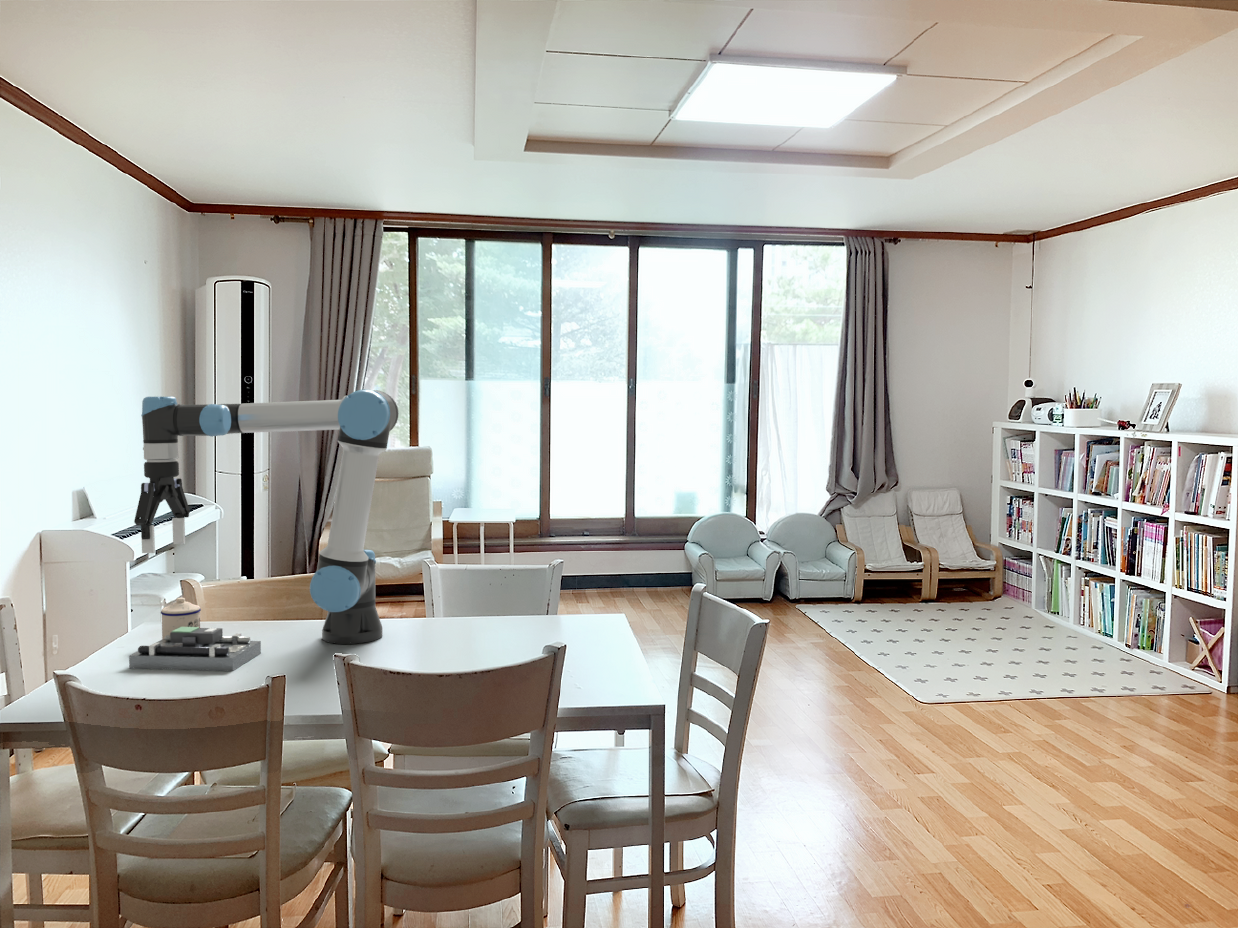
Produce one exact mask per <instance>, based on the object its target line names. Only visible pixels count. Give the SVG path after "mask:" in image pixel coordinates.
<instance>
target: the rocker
mask: <svg viewBox="0 0 1238 928" xmlns="http://www.w3.org/2000/svg"><path fill="white" fill-rule="evenodd" d="M223 635H224V634H223V628H220V627H217V628H216V627H201V626H200V627H180V628H178V629H175V630H173V631H172V632H170V643H183V639H182V637H184V636H191V637H197V643H201V644H213V643H215V642H217V641H219V640H220V639H222V638H223Z"/></svg>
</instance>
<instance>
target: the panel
mask: <svg viewBox="0 0 1238 928" xmlns="http://www.w3.org/2000/svg"><path fill="white" fill-rule="evenodd" d="M182 639H183V643H170V635H166V636H165V638H164V639H162V638H161V639H160V640H159V641H156V642H153V643H152V644H150V645H140V646H139V647H137V651H135V652H133V653H131V654H129V655H128V662H129V664H128V665H129V666H128V668H129V669H132V670H133V669H134V670H135V669H141V670H179V671H182V670H183V671H184V670H185V671H213V672H214V671H216V672H217V671H218V672H219V671H223V672H224V671H225V672H234V671H236V670H237V669H239V668H240V667H242V666H244V665H245V664H247V663H248V662H249V661H250V660H253V659H254V658H256V657H257V656H259V655H260V654H261V653H262V652H261V651H262V649H261V645H262V644H261V640H251V637H250V636H242V633H235V634H233V635H231V636H223V638H222V639H220V640H219V641H217V642H215V643H213V644H201V643H197V637H191V636H184V637H182Z"/></svg>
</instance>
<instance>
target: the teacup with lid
mask: <svg viewBox="0 0 1238 928" xmlns="http://www.w3.org/2000/svg"><path fill="white" fill-rule="evenodd" d="M201 610H202V609H201V606H199V605H198V604H193V603H191V602H190V601H186V598H185V597H177V598H176V600H175V602H173V603H171V604H169V605H168V606H165V607H162V609H161V610H160V614H161V635H162V637H161V640H162V639H164V638H165V636H166V635H170V632H172V631H173V630H175V629H178V628H180V627H200V628H201V613H200V612H201Z"/></svg>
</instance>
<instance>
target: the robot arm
mask: <svg viewBox="0 0 1238 928" xmlns="http://www.w3.org/2000/svg"><path fill="white" fill-rule="evenodd" d="M141 402H142V405H141V420H142V421H141V423H142V437H143V440H142V443H143V447H142V450H143V459H144V460H145V461H144V463H143V472H144V473H143V475H144V477H145V478H148V479H149V482H142V483H141V484H140V495H139V500H138V503H137V508H136V512H135V517H134V520H133V523H134V524H135V526H140V533H141V534H140V535H141V553H142V554H155V553H156V543H155V542H156V541H155V538H156V537H155V524H152V523H154V519H155V516H156V514H157V512H158V509H159V506H160V504H161V503H162V502H163V501H164V500H165V502H166V504H167V506H168V507H169V509H170V510H171V513H172V514H173V516H174V517H172V519H171V521H172V544H173V545H186V531H185V530H186V525H185V523H186V522H185V518H189V516H190V507H189V505H188V501H187V498H186V494H185V491H184V489H183V488H184V487H183V480H182V478H181V477H180V478H178V476H180V468H179V467H180V466H179V461H177V460H178V459H179V443H178V442H179V437H183V436H184V437H185V436H187V437H188V436H191V437H192V436H193V437H195V436H196V437H198V436H199V437H219V436H226V435H230V434H231V435H232V434H245V433H246V434H248V433H249V434H250V433H251V434H253V433H273V432H274V433H279V432H304V431H305V432H308V431H332V430H333V431H335V430H337V431H339V432H338V438H337V442H338V444H339V445H340V446H341V448H342V454H341V460H340V467H339V472H338V478H337V486H336V490H335V498H334V503H333V508H332V514H331V515H332V516H331V522H330V529H329V534H328V540H327V544H326V546H325V547H324V548H323V549H321V550H320V551H319V554H318V562H317V565H316V567H317V568H316V571H315V572H314V573H313V576H312V578H311V580H310V583H309V593H310V597H311V599H312V600H313V602H314V603H315V604H316V606H317V607H319V608H320V609H322V610H324V611H327V615H326V617H325V620H324V623H323V627H322V630H321V631H322V632H321V639H322V641H324V642H326V643H331V644H335V645H336V644H337V645H339V644H340V645H353V644H354V645H356V644H363V643H369V642H372V641H373V642H374V641H376V640H379V639H380V638H381V639H382V637H383V625H382V621H381V619H380V616H379V614H378V610H377V606H376V563H377V559H376V554H375V552H374V550H372V549H365V544H366V543H365V542H366V537H367V530H368V525H369V518H370V514H371V507H372V501H373V500H372V499H373V496H374V495H373V494H374V488H375V482H376V478H377V477H376V476H377V470H378V465H379V458H380V455H381V454H382V453H384V452H385V451H386V450H387V448H388V443H389V436H390V432H391V431H392V430H393V429H394V428H395V426H396V424H397V423H398V420H399V408H398V404H397V402H396V401H395V399H394V398H393V397H392V396H391V395H389V393H386V392H384V391H381V390H377V389H376V390H375V389H365V388H363V389H359V390H355V391H353V392H351V393H350V394H348V395H344V396H343V397H342V398H341V399H325V400H304V401H302V400H301V401H299V400H298V401H297V400H296V401H275V402H273V401H272V402H250V403H249V402H248V403H247V402H246V403H220V404H218V403H208V404H206V403H205V404H180V403H178V402H177V398H176V397H175V396H145V397H144V398H143V399H142V401H141ZM176 477H177V478H176Z"/></svg>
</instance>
